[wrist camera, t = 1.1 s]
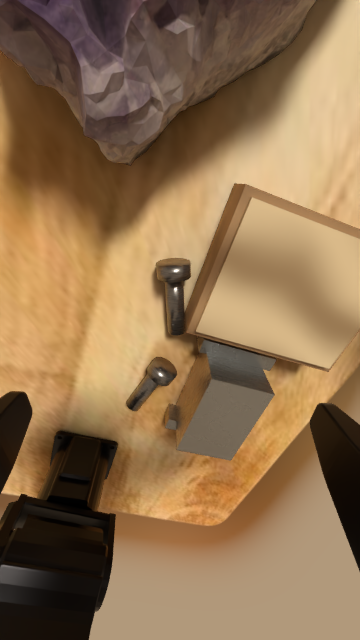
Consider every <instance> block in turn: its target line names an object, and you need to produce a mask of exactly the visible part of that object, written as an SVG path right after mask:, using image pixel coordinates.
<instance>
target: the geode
mask: <svg viewBox="0 0 360 640" xmlns="http://www.w3.org/2000/svg"><path fill="white" fill-rule="evenodd" d="M315 2H316V0H0V50H1V51H2V52H3V53H4V54H5V55H6V56H7V58H9V59H12V60H13V61H14V62H15V63H16V64H17V65H18V66H21V67H24V68H25V69H26V71H27V72H28V74H29V75H30V77H31V79H32V80H33V81H34V82H35V83H36V84H37V85H43V86H48V87H52V88H54V89H55V90H57V91H58V93H59V94H60V95H62V96H63V97H64V98H65V99H66V101H67V103H68V105H69V106H70V108H71V110H72V112H73V113H74V115H75V117H76V119H77V120H78V122H79V124H80V126H81V127H83V133H84V136H87V137H89V138H91V139H93V140H94V141H95V142H97V143H98V145H99V147H100V150H101V152H102V153H103V154H104V156H105V157H106V158H107V159H108V160H110V161H112V162H114V163H122V164H127V165H131V164H132V162H133V161H134V160H135V159H136V158H138V157H139V156H140V155H142V154H143V153H145V152H146V151H147V150H148V149H149V147H150V146H151V145H152V144H153V143H154V142H155V140H156V139H157V138H158V136H159V135H160V134H161V133H162V131H163V130H164V129H165V128H166V127H167V125H168V124H169V123H170V122H171V120H172V119H173V118H174V117H175V116H176V115H178V114H179V113H180V112H181V111H183V110H186V108H187V107H189V106H192V105H195V104H198V103H201V102H203V101H205V100H207V99H210V98H212V97H214V95H215V94H216V92H217V91H218V89H219V88H221V87H223V86H225V85H227V84H230V83H232V82H234V81H235V80H237V79H238V78H239V77H240V76H242V75H243V74H244V73H245V72H247V71H249V70H252V69H254V68H257V67H259V66H261V65H262V64H264V63H266V62H267V61H269V60H270V59H272V58H274V57H275V56H277V55H278V54H279V53H280V52H282V51H283V50H284V49H285V48H286V47H287V46H288V45H289V44H290V43H292V42H293V41H294V40H295V38H296V37H297V36H298V34H299V33H300V31H301V30H302V28H303V25H304V22H305V19H306V16H307V13H308V11H309V10H310V8H311V7H312V6H313V4H314V3H315Z"/></svg>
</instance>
